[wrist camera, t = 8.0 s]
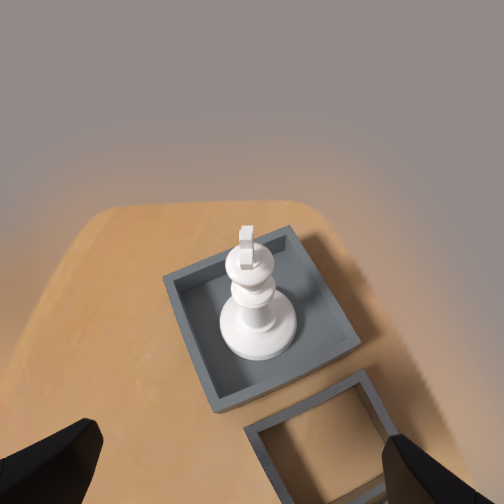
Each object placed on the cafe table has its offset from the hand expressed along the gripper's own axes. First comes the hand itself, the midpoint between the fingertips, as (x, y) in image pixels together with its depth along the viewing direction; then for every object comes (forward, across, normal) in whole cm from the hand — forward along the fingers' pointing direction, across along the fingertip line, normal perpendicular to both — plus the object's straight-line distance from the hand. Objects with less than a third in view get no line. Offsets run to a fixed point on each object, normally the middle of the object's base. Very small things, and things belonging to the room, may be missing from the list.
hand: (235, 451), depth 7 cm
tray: (+13, 0, +2) cm, 13 cm away
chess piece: (+12, 0, +2) cm, 12 cm away
